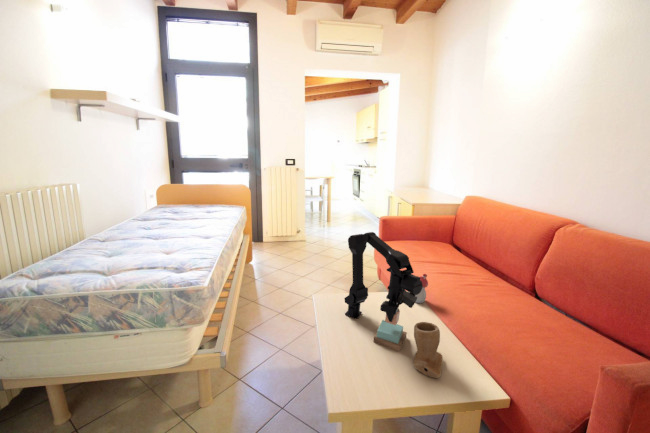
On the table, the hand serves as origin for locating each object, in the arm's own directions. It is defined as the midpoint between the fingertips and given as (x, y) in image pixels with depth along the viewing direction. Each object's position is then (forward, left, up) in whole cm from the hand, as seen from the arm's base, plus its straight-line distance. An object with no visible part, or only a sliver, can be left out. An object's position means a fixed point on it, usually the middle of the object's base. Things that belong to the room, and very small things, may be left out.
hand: (392, 318), depth 127 cm
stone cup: (+7, +16, -10) cm, 20 cm away
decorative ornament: (-43, +3, -10) cm, 44 cm away
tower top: (0, 0, -7) cm, 7 cm away
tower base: (0, 0, -10) cm, 10 cm away
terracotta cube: (0, 0, -1) cm, 1 cm away
